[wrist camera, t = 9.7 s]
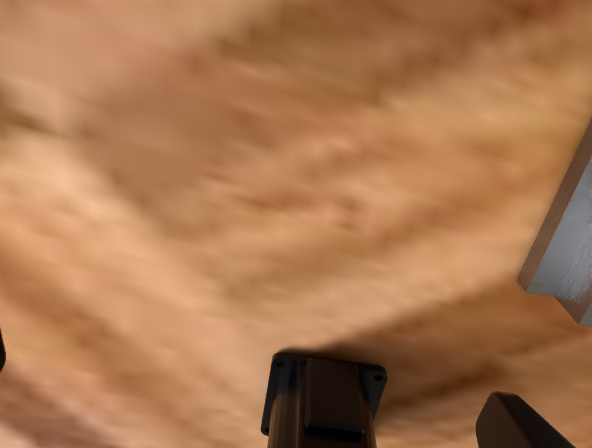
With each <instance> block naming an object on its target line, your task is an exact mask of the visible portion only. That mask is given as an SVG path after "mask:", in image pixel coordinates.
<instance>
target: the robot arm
mask: <svg viewBox="0 0 592 448" xmlns="http://www.w3.org/2000/svg"><path fill="white" fill-rule="evenodd" d="M5 361H6V352H5V347H4V342H3V338H2V333H1V329H0V372H1V371H2V369H3V367H4V364H5ZM278 361H283V362H278ZM376 375H379V376H376ZM386 381H387V373H386V370H385V369H384V368H383V367H381V366H375V365H368V364H361V363H354V362H347V361H340V360H333V359H326V358H319V357H312V356H305V355H298V354H290V353H283V352H278V353H276V354H274V355H273V357H272V363H271V369H270V375H269V381H268V387H267V393H266V399H265V405H264V412H263V418H262V424H261V432H262V433H263V434H264V435H267V436H269V438H268V447H267V448H377V446H376V439H375V432H374V425H373V420H374V417H375V414H376V411H377V408H378V405H379V402H380V399H381V396H382V393H383V390H384V387H385V384H386ZM476 436H477V441H478V446H479V448H576V447H574V446H573V445H572V444H571V443H570V442H569V441H568V440H567V439H566V438H565V437H563V436H562V435H561V434H560V433H559V432H558V431H557V430H556V429H555V428H553V427H552V426H551V425H550V424H549V423H548V422H547V421H546V420H545V419H544V418H542V417H541V416H540V415H539V414H538V413H537V412H536V411H535V410H534V409H533V408H531V407H530V406H529V405H528V404H527V403H526V402H525V401H524V400H523V399H521V398H520V397H519V396H518V395H516V394H513V393H506V392H499V391H495V392H492V393H491V394H490V395H489V397H488V399H487V401H486V403H485V405H484V407H483V409H482V411H481V413H480V415H479V417H478V419H477V422H476Z"/></svg>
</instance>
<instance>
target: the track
mask: <svg viewBox="0 0 592 448" xmlns="http://www.w3.org/2000/svg"><path fill="white" fill-rule="evenodd" d="M517 282H518V283H519V284H520V286H521V287H522V288H523V289H524V291H525V292H526V293H533V294H540V295H546V296H553V297H555V298H556V299H557V300H558V301H559V302H560V303H561V305H562V306H563V307H564V308H565V309H566V310H567V312H568V313H569V314H570V315H571V316H572V317H573V319H574V320H575V321H576V322H577V323H578V324H579V325H585V326H591V327H592V119H591V121H590V123H589V125H588V127H587V129H586V132H585V134H584V136H583V138H582V140H581V142H580V145H579V147H578V149H577V151H576V153H575V155H574V158H573V160H572V162H571V164H570V166H569V168H568V171H567V173H566V175H565V177H564V179H563V181H562V183H561V186H560V188H559V190H558V192H557V194H556V196H555V199H554V201H553V203H552V205H551V207H550V209H549V212H548V214H547V216H546V218H545V220H544V222H543V225H542V227H541V229H540V231H539V233H538V235H537V237H536V240H535V242H534V244H533V246H532V248H531V250H530V253H529V255H528V257H527V259H526V261H525V263H524V266H523V268H522V270H521V272H520V274H519V276H518V279H517Z"/></svg>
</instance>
